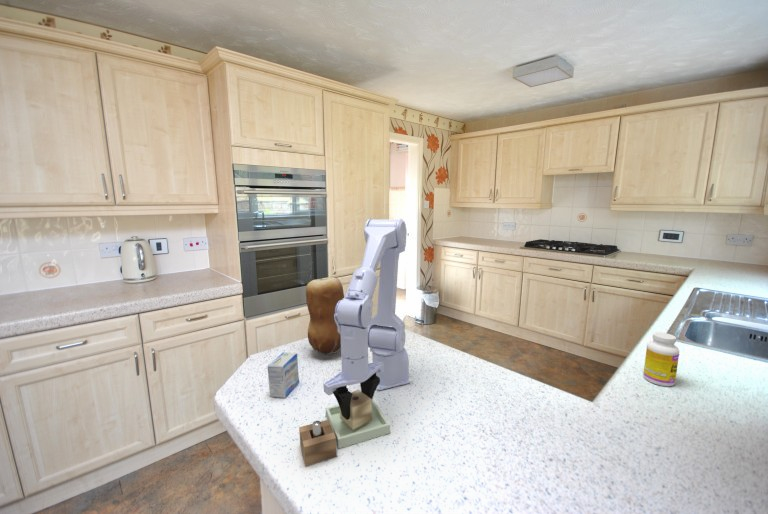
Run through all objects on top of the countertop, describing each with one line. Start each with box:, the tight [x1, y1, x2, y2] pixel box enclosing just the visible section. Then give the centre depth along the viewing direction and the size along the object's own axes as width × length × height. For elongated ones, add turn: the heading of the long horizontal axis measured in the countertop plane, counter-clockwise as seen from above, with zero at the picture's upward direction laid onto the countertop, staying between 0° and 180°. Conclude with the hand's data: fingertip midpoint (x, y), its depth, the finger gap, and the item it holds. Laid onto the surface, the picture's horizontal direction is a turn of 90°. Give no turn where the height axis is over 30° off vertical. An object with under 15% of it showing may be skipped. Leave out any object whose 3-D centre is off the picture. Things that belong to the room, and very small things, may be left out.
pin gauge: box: [311, 420, 321, 438], centre depth 65 cm, size 2×2×6 cm
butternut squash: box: [305, 276, 345, 355], centre depth 107 cm, size 14×13×25 cm
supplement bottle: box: [642, 331, 680, 387], centre depth 88 cm, size 7×7×13 cm
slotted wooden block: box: [298, 419, 338, 467], centre depth 65 cm, size 6×6×4 cm
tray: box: [325, 398, 391, 449], centre depth 73 cm, size 11×11×2 cm
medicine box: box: [267, 351, 300, 399], centre depth 87 cm, size 8×4×9 cm, turn 168°
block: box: [340, 389, 372, 430], centre depth 73 cm, size 5×5×5 cm
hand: (356, 411), depth 73 cm, fingers closed on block, 5 cm apart
